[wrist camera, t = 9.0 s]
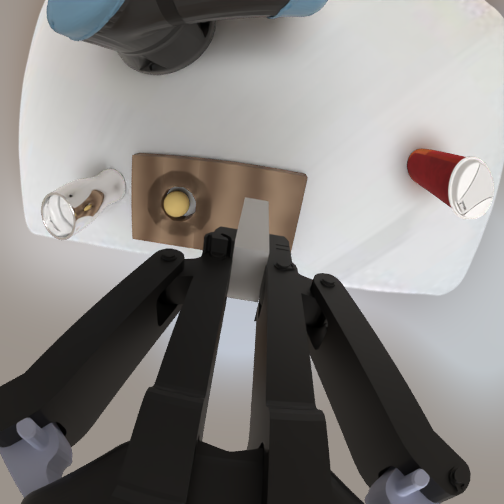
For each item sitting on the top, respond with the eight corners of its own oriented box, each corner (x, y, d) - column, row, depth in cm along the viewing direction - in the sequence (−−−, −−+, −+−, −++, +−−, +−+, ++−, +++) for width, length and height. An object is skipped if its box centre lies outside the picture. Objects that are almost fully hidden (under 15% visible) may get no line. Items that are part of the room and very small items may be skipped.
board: (138, 232, 45) (132, 238, 43) (139, 153, 39) (132, 155, 36) (287, 255, 46) (288, 263, 43) (305, 173, 39) (307, 177, 37)
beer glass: (118, 159, 39) (62, 181, 26) (134, 196, 42) (84, 232, 29) (90, 175, 40) (33, 203, 27) (104, 210, 43) (54, 247, 30)
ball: (160, 198, 41) (156, 206, 38) (179, 182, 41) (177, 190, 37) (176, 216, 43) (174, 226, 40) (195, 201, 43) (194, 210, 39)
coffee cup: (417, 199, 39) (467, 235, 26) (392, 161, 37) (445, 186, 24) (447, 169, 36) (503, 196, 23) (424, 131, 34) (483, 144, 21)
